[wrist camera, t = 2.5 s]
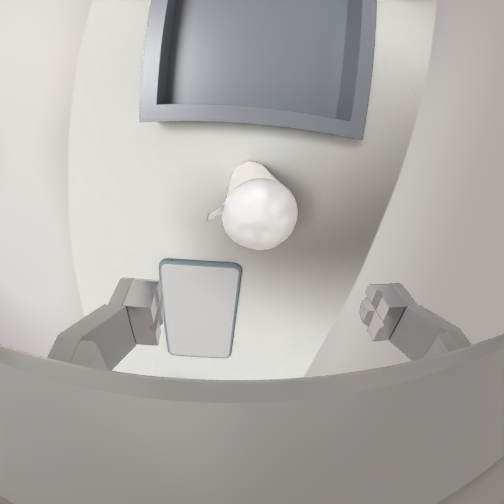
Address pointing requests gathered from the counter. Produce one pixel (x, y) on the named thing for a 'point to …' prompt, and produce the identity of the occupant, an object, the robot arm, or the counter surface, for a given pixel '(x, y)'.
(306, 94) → the tray
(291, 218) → the milkshake
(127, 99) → the counter surface
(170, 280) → the smartphone
